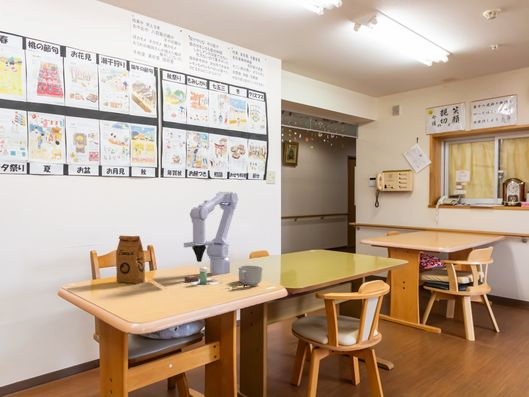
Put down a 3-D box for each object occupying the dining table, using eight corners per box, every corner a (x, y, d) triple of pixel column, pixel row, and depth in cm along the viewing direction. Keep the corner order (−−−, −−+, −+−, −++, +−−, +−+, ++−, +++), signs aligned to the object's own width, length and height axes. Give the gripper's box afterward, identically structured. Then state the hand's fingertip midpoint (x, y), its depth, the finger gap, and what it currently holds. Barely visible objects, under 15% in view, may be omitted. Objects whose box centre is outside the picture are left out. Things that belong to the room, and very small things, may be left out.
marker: (205, 282, 175) (205, 266, 175) (208, 283, 172) (208, 268, 172) (198, 283, 173) (198, 267, 173) (201, 284, 170) (201, 268, 170)
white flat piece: (209, 279, 187) (209, 273, 187) (224, 285, 174) (224, 279, 174) (183, 283, 179) (183, 277, 179) (197, 289, 167) (197, 283, 167)
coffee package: (135, 285, 176) (134, 237, 175) (113, 283, 180) (112, 236, 180) (148, 281, 185) (148, 234, 185) (127, 279, 189) (127, 234, 189)
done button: (193, 279, 180) (193, 275, 180) (195, 280, 178) (195, 276, 178) (187, 280, 179) (187, 276, 179) (189, 281, 176) (189, 277, 176)
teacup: (248, 281, 184) (248, 264, 184) (267, 283, 177) (267, 266, 177) (229, 286, 172) (229, 268, 172) (248, 290, 166) (248, 271, 166)
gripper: (209, 231, 190) (209, 258, 190) (181, 232, 182) (181, 261, 182) (215, 232, 184) (216, 260, 185) (187, 234, 176) (187, 264, 177)
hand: (199, 261), depth 183 cm, fingers closed
